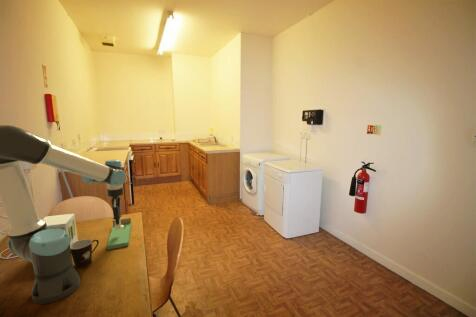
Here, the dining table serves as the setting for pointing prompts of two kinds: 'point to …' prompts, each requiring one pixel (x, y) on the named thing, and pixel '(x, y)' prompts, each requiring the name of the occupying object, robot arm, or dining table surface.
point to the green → (120, 235)
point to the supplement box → (63, 225)
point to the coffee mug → (82, 252)
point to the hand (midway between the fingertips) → (118, 229)
